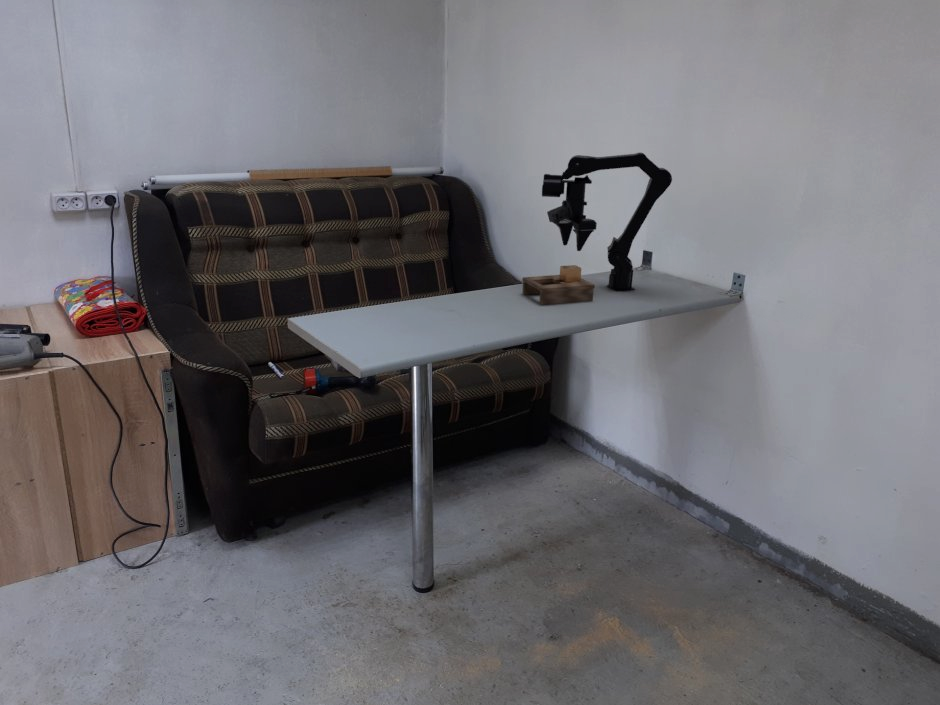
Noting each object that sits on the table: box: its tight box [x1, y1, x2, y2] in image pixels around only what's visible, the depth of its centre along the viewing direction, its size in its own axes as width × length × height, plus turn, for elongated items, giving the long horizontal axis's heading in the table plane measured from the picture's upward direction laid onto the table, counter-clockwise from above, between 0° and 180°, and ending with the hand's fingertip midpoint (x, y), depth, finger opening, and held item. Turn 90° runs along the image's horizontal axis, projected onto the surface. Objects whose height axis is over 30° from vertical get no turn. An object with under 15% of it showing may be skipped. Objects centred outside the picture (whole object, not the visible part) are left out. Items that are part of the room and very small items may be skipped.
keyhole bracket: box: [521, 274, 596, 306], centre depth 215 cm, size 17×14×5 cm
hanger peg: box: [559, 264, 582, 282], centre depth 215 cm, size 5×5×8 cm
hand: (571, 248), depth 226 cm, fingers open, 9 cm apart
